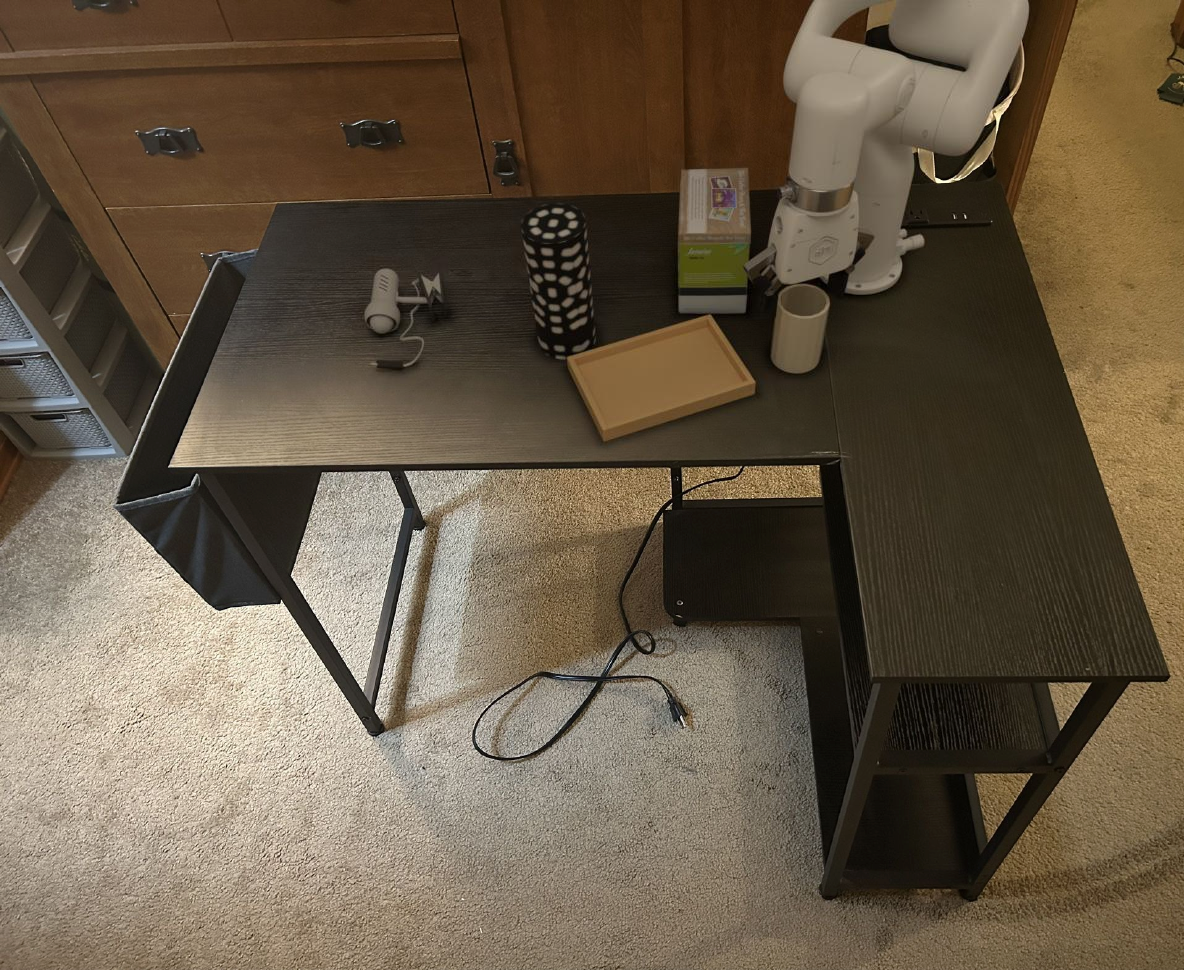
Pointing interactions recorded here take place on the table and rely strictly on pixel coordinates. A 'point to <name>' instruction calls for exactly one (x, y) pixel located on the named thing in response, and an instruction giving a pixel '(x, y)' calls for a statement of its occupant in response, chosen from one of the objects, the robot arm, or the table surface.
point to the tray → (659, 377)
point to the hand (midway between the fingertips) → (801, 303)
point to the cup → (799, 328)
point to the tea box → (713, 240)
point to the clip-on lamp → (386, 313)
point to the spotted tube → (559, 279)
